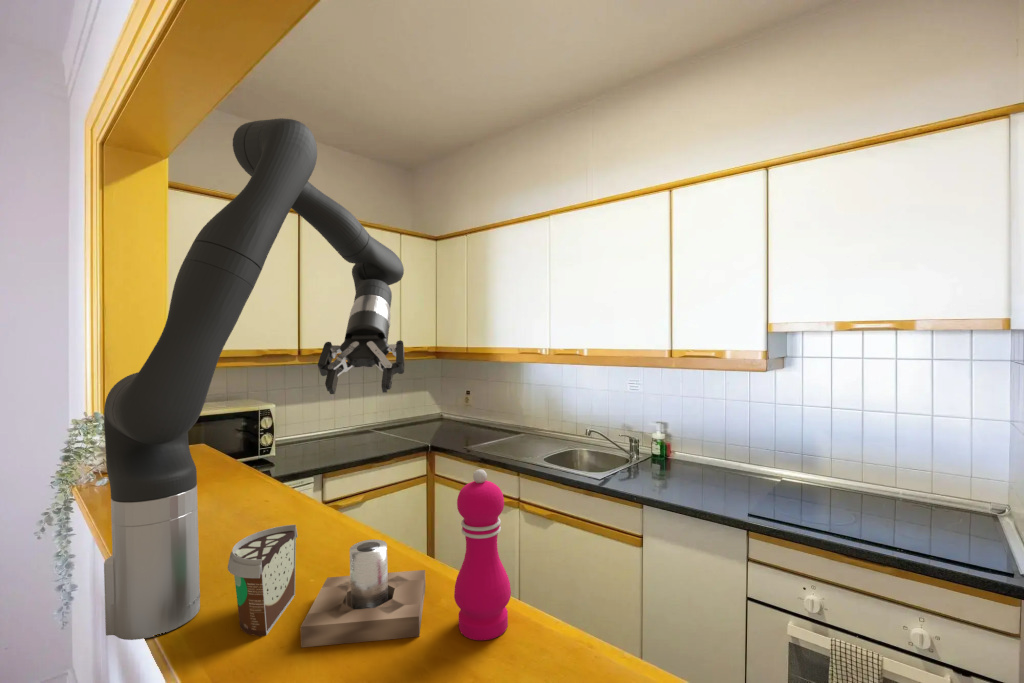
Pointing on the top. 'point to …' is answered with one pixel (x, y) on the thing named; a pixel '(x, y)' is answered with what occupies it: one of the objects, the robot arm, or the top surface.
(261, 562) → the food container
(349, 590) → the frame
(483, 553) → the pepper mill
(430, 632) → the top surface
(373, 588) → the bushing
